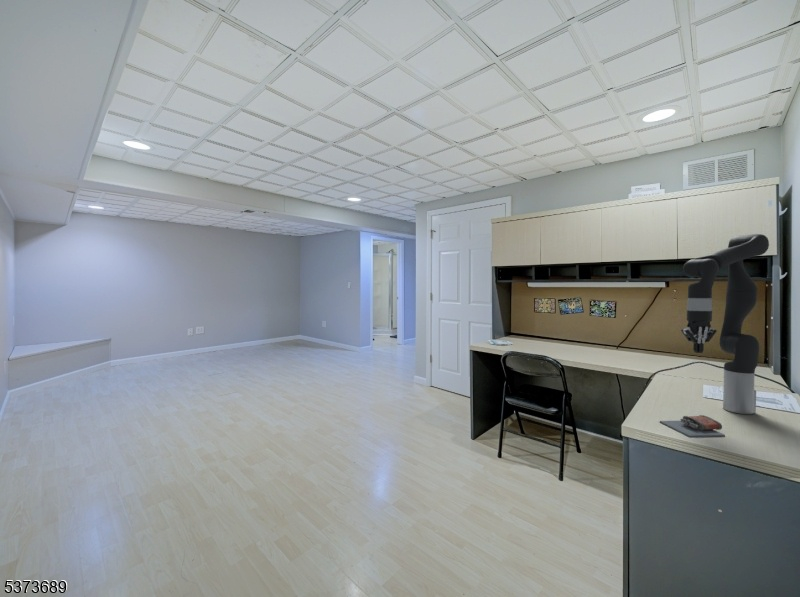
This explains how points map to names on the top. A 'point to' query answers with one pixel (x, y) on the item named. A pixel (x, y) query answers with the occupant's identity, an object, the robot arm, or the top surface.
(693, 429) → the mat
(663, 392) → the top surface
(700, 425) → the lighter
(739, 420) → the top surface
